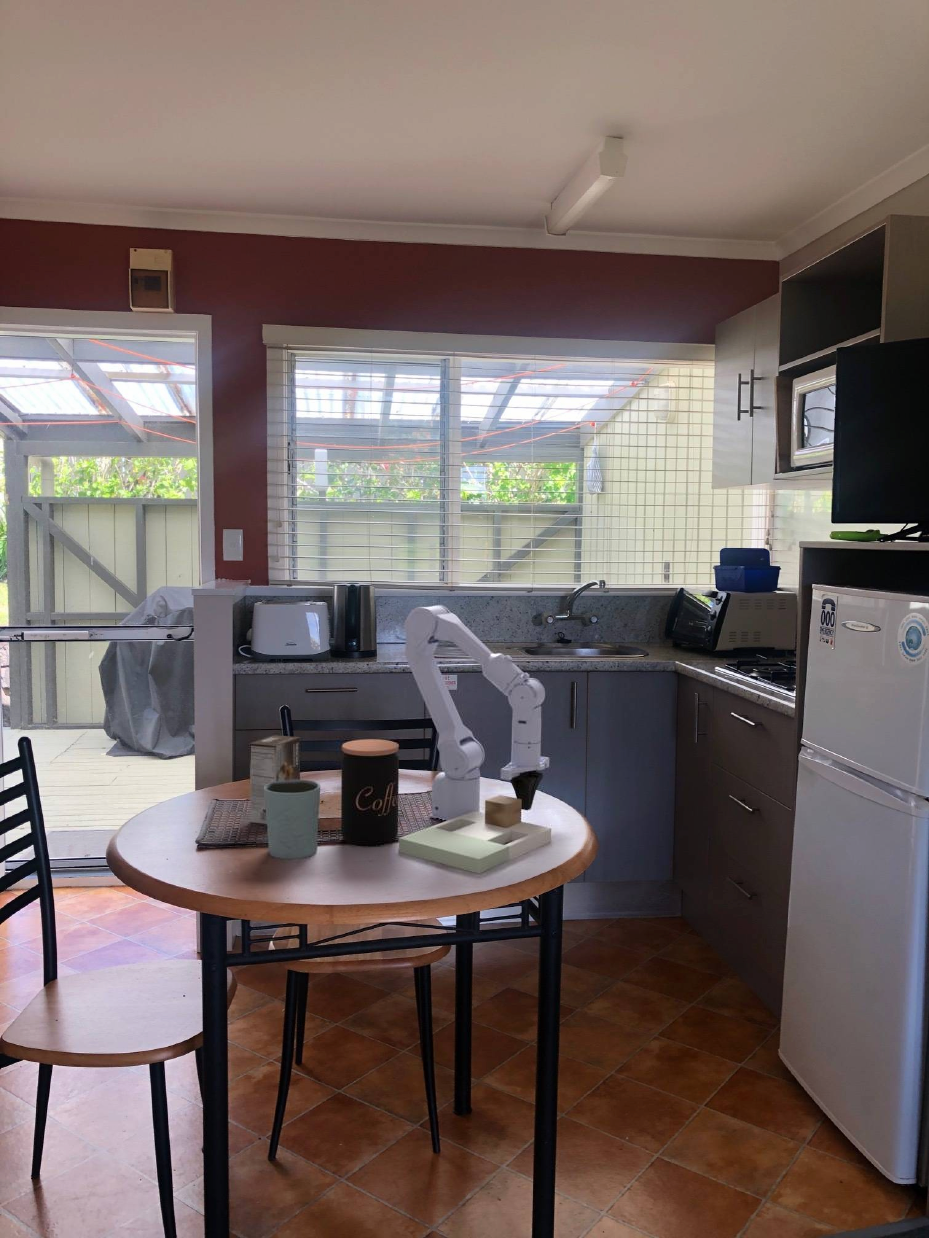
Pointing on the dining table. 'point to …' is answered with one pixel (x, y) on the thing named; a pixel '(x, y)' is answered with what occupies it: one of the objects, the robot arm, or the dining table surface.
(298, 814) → the pale green cup
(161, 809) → the dining table surface
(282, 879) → the dining table surface
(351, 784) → the coffee jar
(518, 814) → the block
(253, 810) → the coffee box
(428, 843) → the pale green slotted tray
